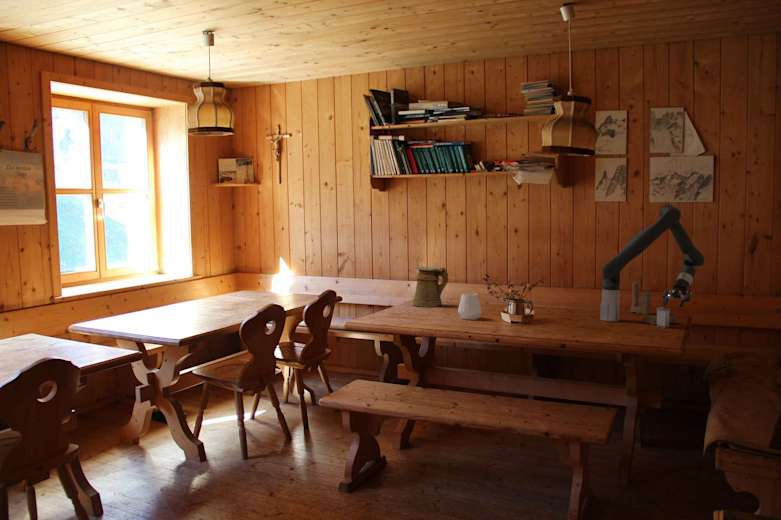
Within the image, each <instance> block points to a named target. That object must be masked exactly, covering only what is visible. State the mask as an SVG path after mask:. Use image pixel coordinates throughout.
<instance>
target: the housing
mask: <svg viewBox="0 0 781 520" xmlns="http://www.w3.org/2000/svg"><path fill="white" fill-rule="evenodd" d="M655 310H656V316H657V325H655V328H659V327H662V328H661V329H668V328H667V327H669V328H670V327H671V324H669V317H670V311H671V308H669V307H663V306H662V307H660V306H659V307H657V308H655Z"/></svg>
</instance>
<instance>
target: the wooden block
mask: <svg viewBox="0 0 781 520" xmlns="http://www.w3.org/2000/svg"><path fill="white" fill-rule="evenodd" d="M631 286H632V291H631V294H632V295H631V297H632V298H631V306H630V313H631V312H636V313H635V314H639V313H644V314H643V315H645V314H648V315H650V314H651V298H652V297H651V294H652V293H651V290H646V291H645V292H644V293H643V294H642V295H641V296H640V295H639V292H640V282H638V281H637V282H632V285H631ZM639 296H640V297H639ZM639 302H640V303H641V306H639ZM649 313H650V314H649Z"/></svg>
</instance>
